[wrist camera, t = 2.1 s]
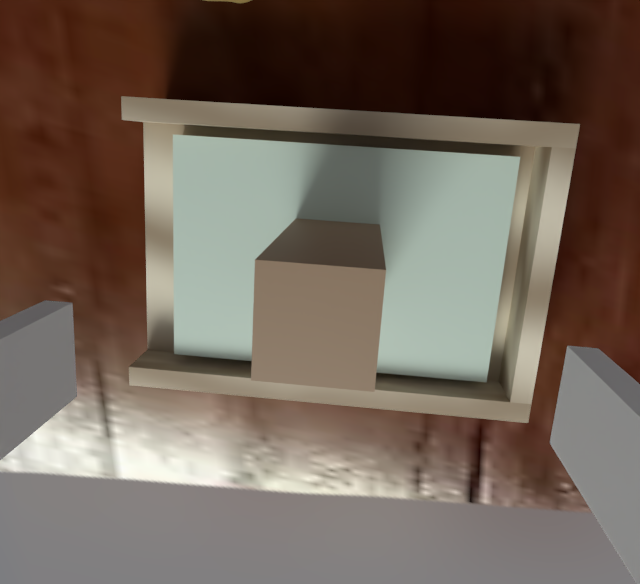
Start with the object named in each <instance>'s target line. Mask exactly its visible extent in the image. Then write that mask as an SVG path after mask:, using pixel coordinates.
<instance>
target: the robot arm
mask: <svg viewBox="0 0 640 584" xmlns="http://www.w3.org/2000/svg"><path fill="white" fill-rule="evenodd" d="M75 397H77V388H76V367H75V347H74V326H73V306H72V303H69V302H57V301H46V300H45V301H43V302H41V303H39V304H36V305H34V306H32V307H30V308H28V309H26V310H23V311H21V312H19V313H17V314H15V315H12V316H10V317H8V318H6V319H4V320H2V321H0V460H1V459H2V458H3V457H5V456H6V455H7V454H8V453H9V452H11V451H12V450H13V449H14V448H15V447H17V446H18V445H19V444H20V443H21V442H23V441H24V440H25V439H26V438H27V437H29V436H30V435H31V434H32V433H33V432H35V431H36V430H37V429H38V428H39V427H41V426H42V425H43V424H44V423H45V422H47V421H48V420H49V419H50V418H51V417H53V416H54V415H55V414H56V413H57V412H59V411H60V410H61V409H62V408H63V407H65V406H66V405H67V404H68V403H69V402H71V401H72V400H73V399H74V398H75ZM550 444H551V446H552V447H553V449H554V451H555V452H556V454H557V456H558V457H559V459H560V461H561V462H562V464H563V465H564V467H565V469H566V470H567V472H568V474H569V475H570V477H571V478H572V480H573V482H574V483H575V485H576V487H577V488H578V490H579V491H580V493H581V495H582V496H583V498H584V500H585V501H586V503H587V504H588V506H589V508H590V509H591V511H592V513H593V514H594V516H595V517H596V519H597V521H598V522H599V524H600V526H601V527H602V529H603V530H604V532H605V534H606V535H607V537H608V539H609V540H610V542H611V543H612V545H613V547H614V548H615V550H616V552H617V553H618V555H619V556H620V558H621V560H622V561H623V563H624V564H625V566H626V568H627V569H628V571H629V573H630V574H631V576H632V578H633V579H634V581H635V583H636V584H640V384H639V383H638V382H636V381H635V380H634V379H633V378H632V377H631V376H629V375H628V374H627V373H626V372H625V371H624V370H623V369H621V368H620V367H619V366H618V365H617V364H616V363H614V362H613V361H612V360H611V359H610V358H609V357H608V356H606V355H605V354H604V353H603V352H602V351H601V350H599V349H598V348H587V347H575V346H567V351H566V357H565V362H564V367H563V373H562V378H561V384H560V389H559V395H558V400H557V406H556V411H555V417H554V422H553V428H552V433H551V439H550Z"/></svg>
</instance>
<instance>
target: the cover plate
mask: <svg viewBox="0 0 640 584" xmlns="http://www.w3.org/2000/svg"><path fill="white" fill-rule="evenodd" d="M519 163H520V157H516V156H501V155H485V154H470V153H454V152H439V151H423V150H408V149H392V148H377V147H361V146H346V145H330V144H315V143H299V142H284V141H268V140H253V139H237V138H222V137H206V136H191V135H173V260H174V354H178V355H189V356H200V357H211V358H222V359H233V360H244V361H252V365H251V381H262V382H273V383H284V384H294V385H305V386H316V387H327V388H337V389H348V390H359V391H370V392H375V382H376V372H377V373H388V374H399V375H410V376H421V377H432V378H443V379H454V380H465V381H476V382H487V376H488V369H489V363H490V356H491V349H492V343H493V336H494V329H495V323H496V316H497V309H498V303H499V296H500V289H501V283H502V276H503V270H504V263H505V256H506V250H507V243H508V236H509V230H510V223H511V216H512V210H513V203H514V196H515V190H516V183H517V176H518V170H519Z"/></svg>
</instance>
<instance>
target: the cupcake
mask: <svg viewBox="0 0 640 584" xmlns="http://www.w3.org/2000/svg"><path fill="white" fill-rule="evenodd" d="M204 1H227V2H234V3H246V2H249V1H251V0H204Z"/></svg>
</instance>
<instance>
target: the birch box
mask: <svg viewBox="0 0 640 584" xmlns="http://www.w3.org/2000/svg"><path fill="white" fill-rule="evenodd" d="M121 104H122V120H129V121H139V122H143V127H144V180H145V234H146V287H147V341H148V350H147V351H146V352H144V353H143V354H142V355H141V356H140V357H139V358H138V359H137V360H136V361H135V362H134V363H133V364H132V365H130V366H129V385H133V386H144V387H154V388H165V389H176V390H186V391H197V392H207V393H218V394H228V395H239V396H249V397H260V398H270V399H281V400H291V401H302V402H312V403H323V404H334V405H344V406H355V407H365V408H376V409H386V410H397V411H407V412H418V413H428V414H439V415H449V416H460V417H470V418H481V419H492V420H502V421H513V422H523V423H528V420H529V414H530V408H531V403H532V397H533V391H534V386H535V380H536V374H537V368H538V363H539V357H540V351H541V345H542V340H543V334H544V328H545V323H546V317H547V311H548V305H549V300H550V294H551V288H552V282H553V277H554V271H555V265H556V260H557V254H558V248H559V242H560V237H561V231H562V225H563V219H564V214H565V208H566V202H567V197H568V191H569V185H570V179H571V174H572V168H573V162H574V156H575V151H576V145H577V139H578V134H579V128H580V124H570V123H554V122H537V121H520V120H504V119H487V118H471V117H454V116H437V115H421V114H404V113H388V112H371V111H355V110H338V109H321V108H305V107H288V106H272V105H255V104H239V103H222V102H205V101H189V100H172V99H156V98H139V97H122V96H121ZM173 135H191V136H206V137H222V138H237V139H253V140H268V141H284V142H299V143H315V144H330V145H346V146H361V147H377V148H392V149H408V150H423V151H439V152H454V153H470V154H485V155H501V156H516V157H520V163H519V170H518V176H517V183H516V190H515V196H514V203H513V210H512V216H511V223H510V230H509V236H508V243H507V250H506V256H505V263H504V270H503V276H502V283H501V289H500V296H499V303H498V309H497V316H496V323H495V329H494V336H493V343H492V349H491V356H490V363H489V369H488V376H487V382H476V381H465V380H454V379H443V378H432V377H421V376H410V375H399V374H388V373H377V372H376V382H375V392H370V391H359V390H348V389H337V388H327V387H316V386H305V385H294V384H284V383H273V382H262V381H251V365H252V361H244V360H233V359H222V358H211V357H200V356H189V355H178V354H174V260H173Z"/></svg>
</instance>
